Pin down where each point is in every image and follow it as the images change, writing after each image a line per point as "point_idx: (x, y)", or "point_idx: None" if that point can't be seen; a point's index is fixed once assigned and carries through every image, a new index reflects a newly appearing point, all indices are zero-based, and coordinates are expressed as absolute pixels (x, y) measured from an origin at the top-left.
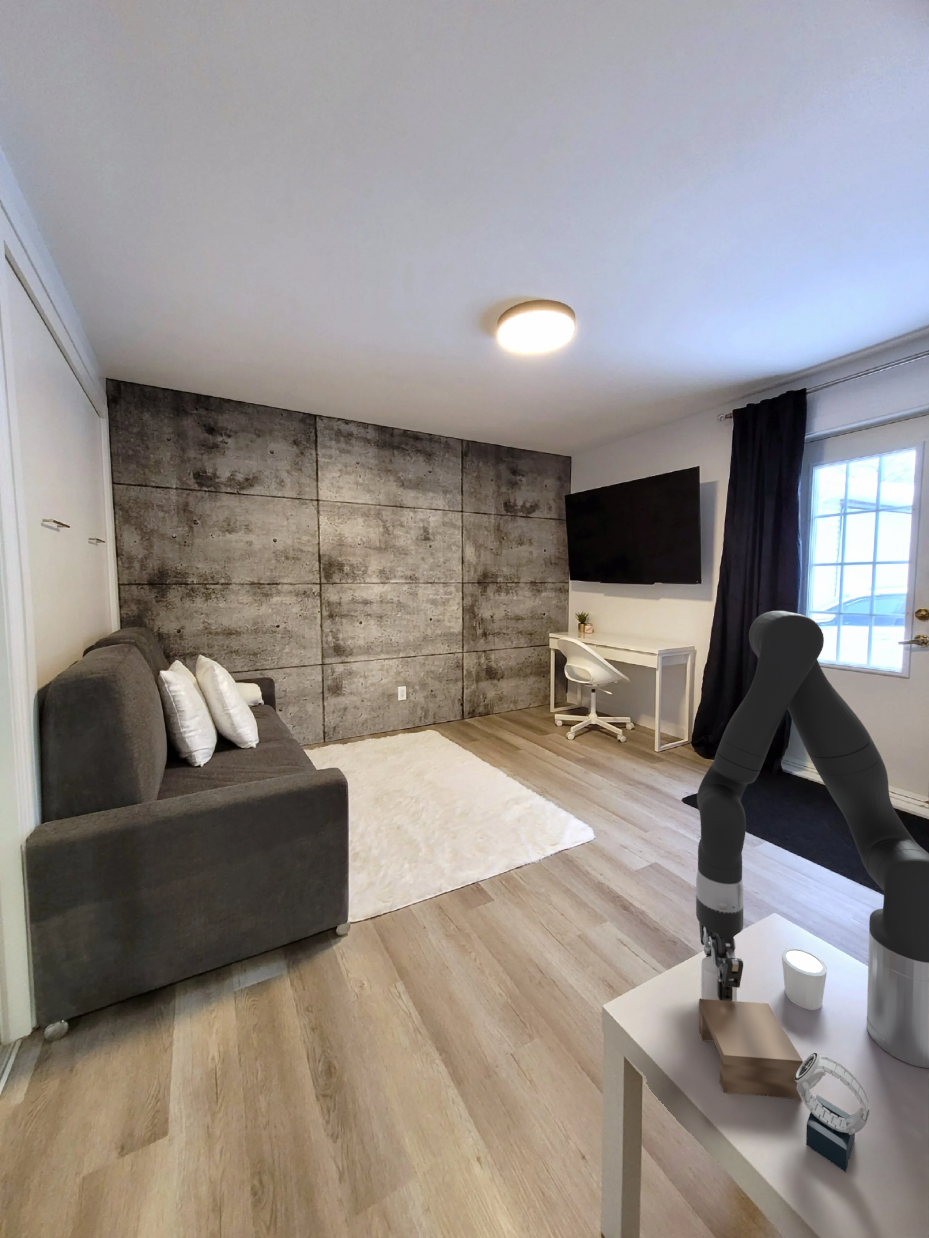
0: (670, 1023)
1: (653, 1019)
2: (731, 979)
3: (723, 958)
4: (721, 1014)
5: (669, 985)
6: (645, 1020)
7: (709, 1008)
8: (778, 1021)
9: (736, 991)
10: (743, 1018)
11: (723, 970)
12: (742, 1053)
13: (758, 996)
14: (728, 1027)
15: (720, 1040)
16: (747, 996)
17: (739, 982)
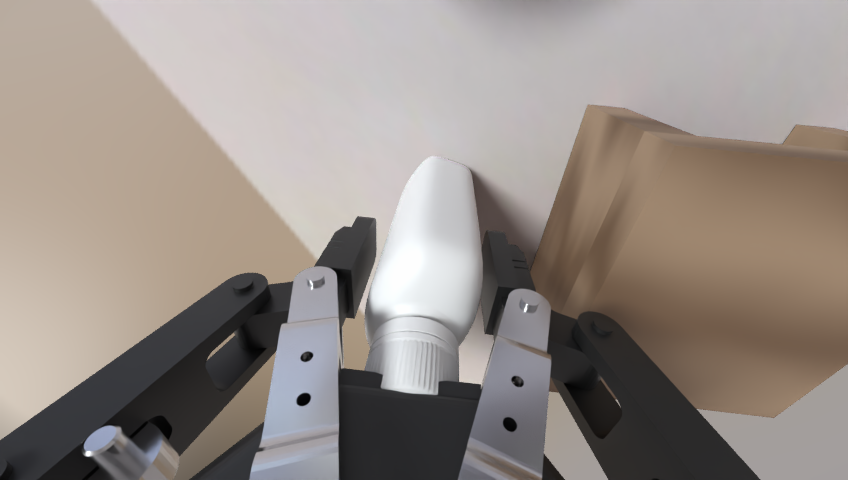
0: (485, 340)
1: (471, 362)
2: (596, 373)
3: (457, 377)
4: None
5: (365, 302)
6: (472, 374)
7: None
8: (814, 163)
9: (474, 203)
10: (692, 310)
11: (602, 461)
12: (810, 378)
13: (387, 12)
14: (696, 369)
15: (725, 406)
16: (390, 72)
17: (647, 361)
